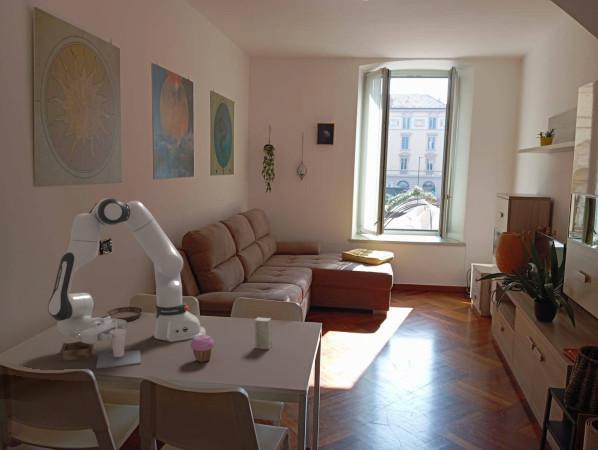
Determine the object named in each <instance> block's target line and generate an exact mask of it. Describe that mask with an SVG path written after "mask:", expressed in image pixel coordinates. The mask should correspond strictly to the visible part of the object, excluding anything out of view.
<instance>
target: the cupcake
mask: <svg viewBox="0 0 598 450" xmlns="http://www.w3.org/2000/svg"><path fill="white" fill-rule="evenodd" d="M214 346H215V342H214V340H213V339H212V337H211V336H210V335H207V334H205V335H198V336H196V337H195V338H192V339H191V342H190V349H192V353H193V355H194V358H195V360H196V361H198V362H201V363H203V362H208V361H210V360H211V358H212V350H213V348H214Z"/></svg>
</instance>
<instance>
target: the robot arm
mask: <svg viewBox="0 0 598 450" xmlns="http://www.w3.org/2000/svg"><path fill="white" fill-rule="evenodd" d="M121 223H124V224H125V226H127V228H128V229H129V230H130V232H131V233H132V235H133V236H134V238H135V239H136V240H137V242H138V244H140V246H141V247H142V249H143V250H144V251H145V253H146V255H148V257H149V259H150V260H151V262H152V263H153V268H154V280H155V290H156V291H155V292H156V293H155V294H156V304H155V318H156V321H155V322H156V323H155V328H154V333H153V337H154V339H157V340H162V341H166V342H170V343H173V342H179V341H185V340H193V338H195V337H196V336H198V335H207V333H206V329H205V327H204V326H201V323H200V319H199V318H198V317H197V316H196V315H194V314H193V313H191V312H189V310H190V308H189V306H188V304H186V303H185V302H183V284H182V277H181V273H182V271H183V268H184V258H183V257H182V255H181V254H180V252H179V250H177V248H176V247H175V245H174V244H173V243H172V241H171V240H170V238H169V237H168V236H167V234H166V233H165V232H164V230H163V229H162V227H161V226H160V224H159V223H158V221H157V220H156V219H155V217H154V215H152V213H151V212H150V210H149V209H148V208H146V206H145V205H144V204H143V203H142V202H140V201H139V200H131V201H129V202H127V203H126V202H123V201H121V200H120V199H116V198H111V197H110V198H109V197H106V198H103V199H101V200H99V201H98V202H95V204H94V205H93V207H92V208H91V209H90V211H89V212H86V213H85V212H84V213H79V214H77V215H76V216H75V217H74V220H73V223H72V227H71V230H70V231H71V232H70V239H69V244H68V248H67V250H66V252H65V253H64V255H63V256H62V257H61V260H60V261H59V265H58V271H57V273H56V278H55V282H54V287H53V290H52V295H51V296H50V299H49V301H48V305H47V311H48V314H49V315H50V316H51V318H53V319H54V320H55V321H57V323H56V324H57V325H56V326H57V330H58V331H59V332H60V333H61V334H62V335H64V336H68V337H71V338H74V339H76V340H79V341H81V342H83V343H87V344H93V343H94V344H96V343H98V342H100V341H103V340H110V341H111V339H113V338H114V334H109V332H110V331H111V330H114V329H116V322H115V320H117V329H126V332H127V333H129V328H128V321H126V320H122V319H117V318H111V317H110V316H106V315H105V316H100V317H93V316H94V311H95V300H94V297H93V296H92V295H91V294H90V293H89V292H85V291H84V292H75V293H70V291H71V288H72V282H73V278H74V275H75V273H76V271H77V270H78V269H79V268H81V267H82V266H84V265H86V264H89V263H90V262H91V261H93V260H94V259H96V257H97V256H98V253H99V248H100V238H101V233H102V229H103V228H104V227H105V226H113V225H117V224H121Z"/></svg>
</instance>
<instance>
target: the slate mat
mask: <svg viewBox="0 0 598 450" xmlns="http://www.w3.org/2000/svg"><path fill="white" fill-rule="evenodd" d="M141 355H142V354H141V350H140V349H136V350H127V351H125V350H124V355H123V356H121V357H115V356H114V354H113V352H108V353H98V354H97V359H96V365H95V366H96V367H95V369H105V368H106V369H107V368H108V369H109V368H116V367H125V366H133V365H136V366H137V365H142V364H141V363H142V360H141V358H142V357H141Z"/></svg>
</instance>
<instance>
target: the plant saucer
mask: <svg viewBox="0 0 598 450" xmlns="http://www.w3.org/2000/svg"><path fill="white" fill-rule="evenodd" d="M143 311H144V310H143V308H141V307H138V306H122V307H116V308H112V309H110V310H108V311H106V312H105V316H110V317H111V318H117V319H122V320H126V321H127V322H130V321H133V319H134V320H137V319H138V318H139V317H141V315H142V314H143ZM119 313H120V314H119Z"/></svg>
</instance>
